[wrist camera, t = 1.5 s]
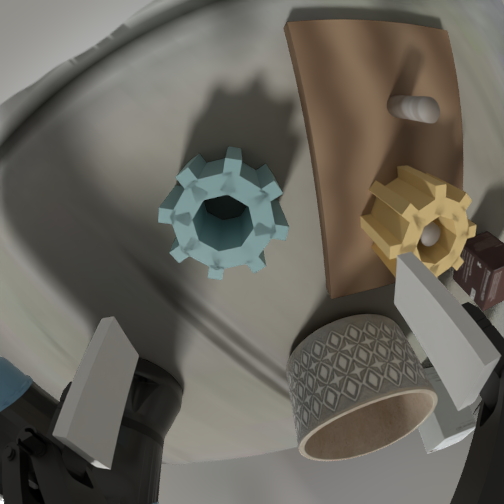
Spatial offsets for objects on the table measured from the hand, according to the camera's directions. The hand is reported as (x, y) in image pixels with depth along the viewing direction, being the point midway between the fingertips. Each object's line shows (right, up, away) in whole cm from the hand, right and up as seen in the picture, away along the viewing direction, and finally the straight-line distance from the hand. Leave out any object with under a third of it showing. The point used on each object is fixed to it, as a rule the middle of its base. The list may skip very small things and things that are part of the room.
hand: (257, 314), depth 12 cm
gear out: (+14, +6, +12) cm, 20 cm away
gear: (-3, +7, +13) cm, 15 cm away
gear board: (+13, +12, +12) cm, 21 cm away
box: (+28, +2, +18) cm, 34 cm away
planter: (+12, -11, +24) cm, 29 cm away
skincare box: (+31, -20, +30) cm, 47 cm away
